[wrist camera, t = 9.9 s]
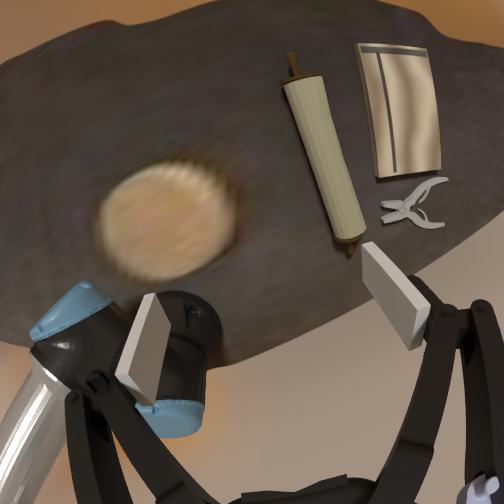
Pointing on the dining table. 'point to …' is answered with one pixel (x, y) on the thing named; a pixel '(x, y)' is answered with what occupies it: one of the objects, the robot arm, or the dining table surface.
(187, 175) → the dining table surface
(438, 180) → the pliers
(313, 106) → the rolling pin
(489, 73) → the dining table surface
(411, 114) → the marking board
